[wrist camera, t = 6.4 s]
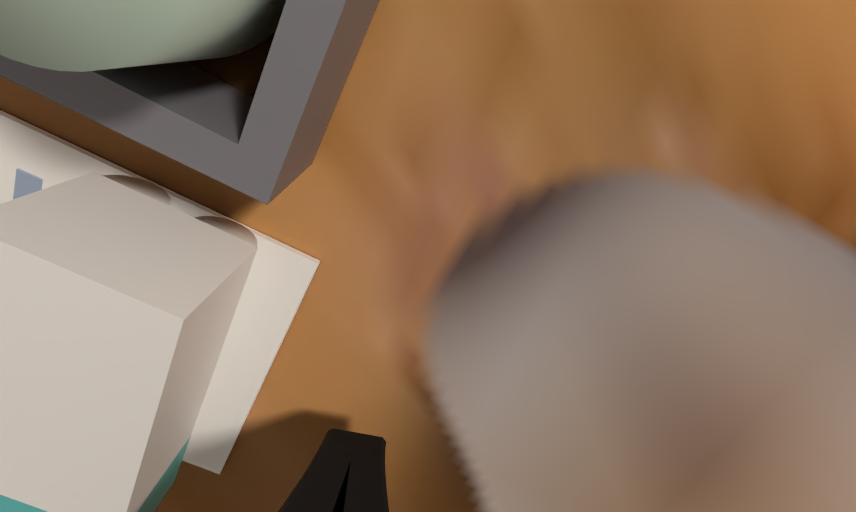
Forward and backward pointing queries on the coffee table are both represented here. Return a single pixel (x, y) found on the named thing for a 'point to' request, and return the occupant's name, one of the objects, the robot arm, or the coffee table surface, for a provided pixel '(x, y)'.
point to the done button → (131, 31)
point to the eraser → (107, 340)
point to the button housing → (226, 100)
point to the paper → (257, 308)
